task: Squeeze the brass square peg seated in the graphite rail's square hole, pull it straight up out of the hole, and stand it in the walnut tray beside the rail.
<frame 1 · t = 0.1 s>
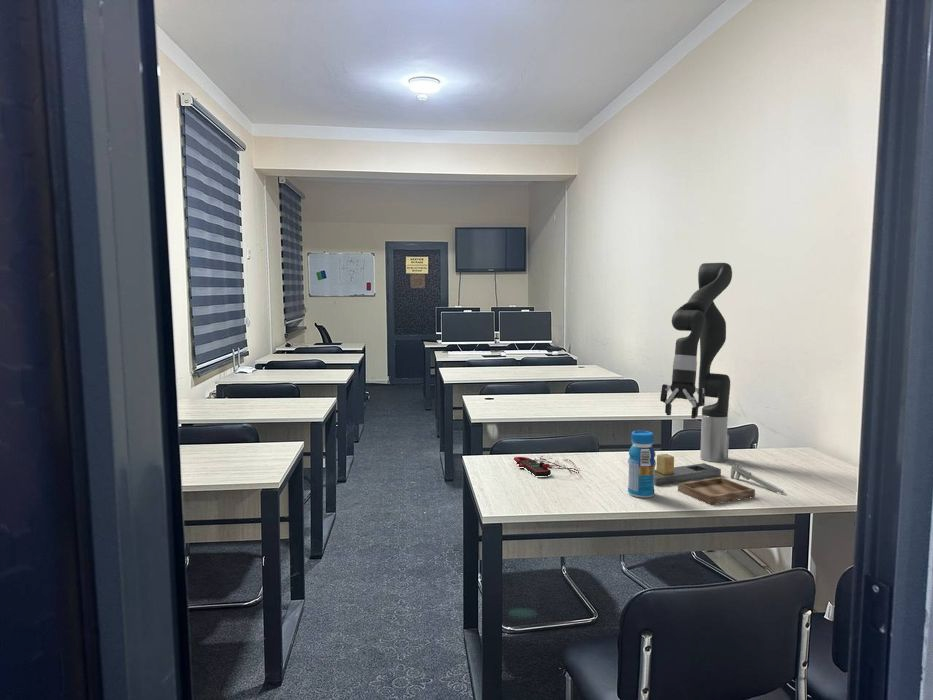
hand: (680, 416, 203), 22 cm above the table, tool pointing down, fingers open, 8 cm apart
peg: (664, 479, 206), resting in rail
digital clamp meter: (551, 470, 221), on the table
tray: (715, 494, 192), on the table
caliper: (757, 487, 200), on the table
beverage bottle: (640, 494, 192), on the table
rail: (680, 477, 209), on the table
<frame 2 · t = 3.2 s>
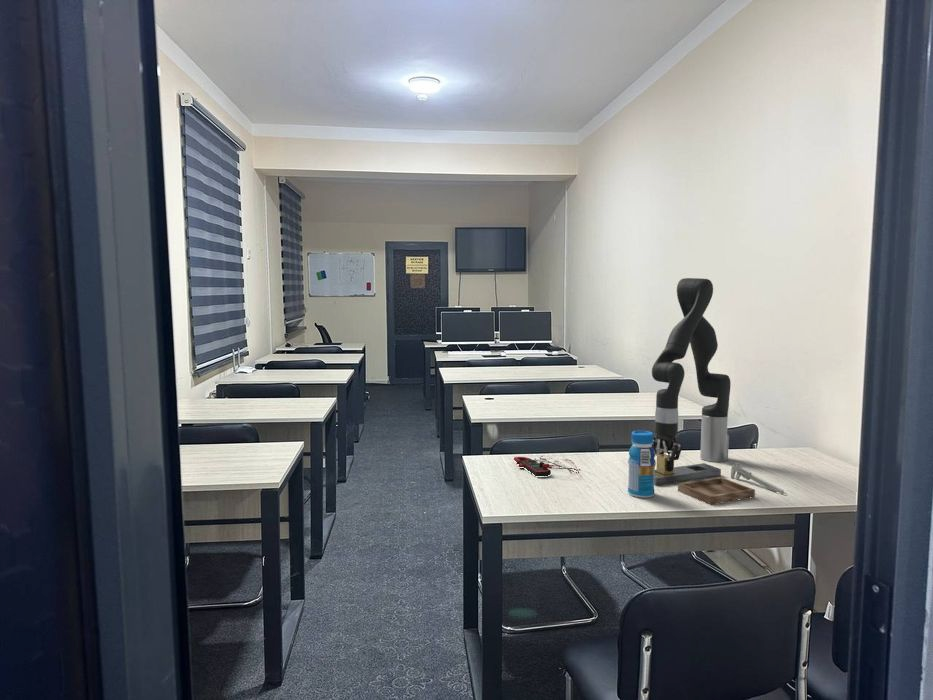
hand: (665, 469, 206), 4 cm above the table, tool pointing down, fingers closed on peg, 4 cm apart
peg: (664, 479, 206), resting in rail, touching gripper
everything else where it was.
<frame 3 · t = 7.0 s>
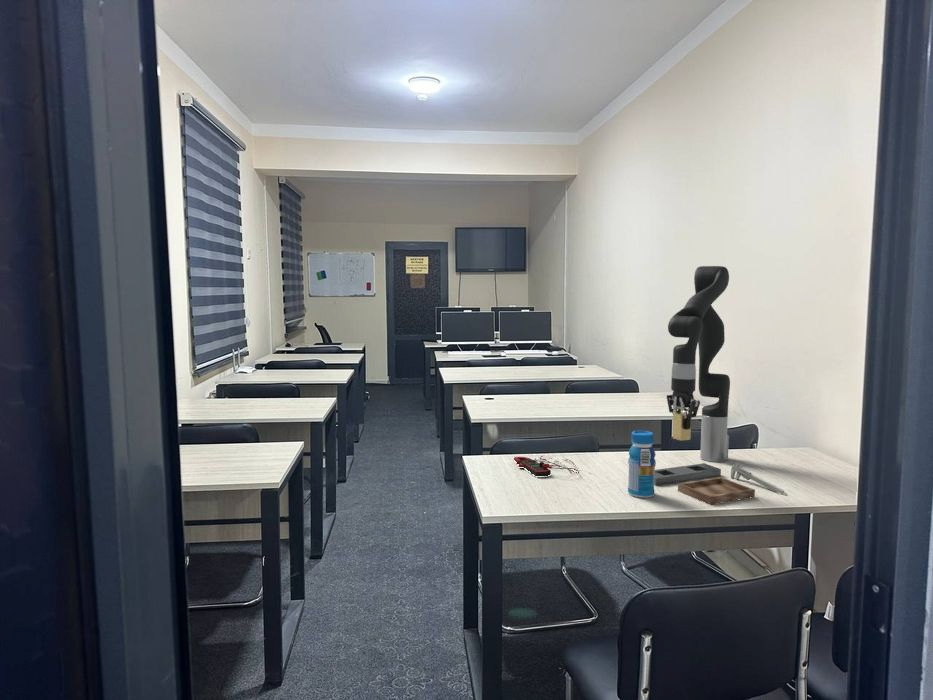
hand: (681, 427, 200), 19 cm above the table, tool pointing down, fingers closed on peg, 4 cm apart
peg: (681, 438, 200), point 16 cm above the table, touching gripper
everything else where it was.
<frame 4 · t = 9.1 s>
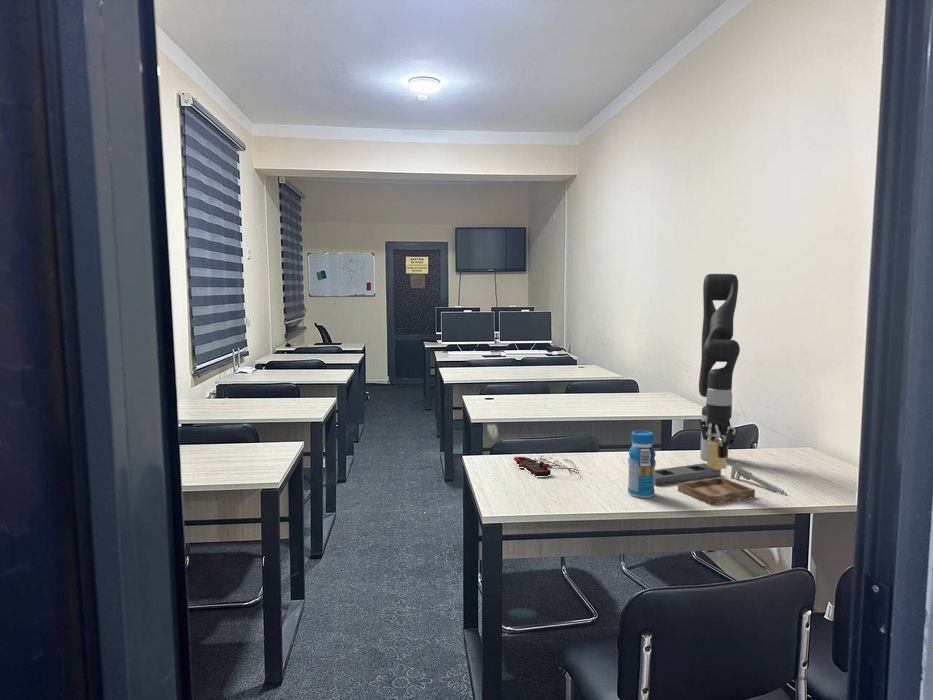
hand: (717, 455, 190), 13 cm above the table, tool pointing down, fingers closed on peg, 4 cm apart
peg: (716, 467, 191), point 9 cm above the table, touching gripper
everything else where it was.
when the fingers open (6 cm above the table, at t = 11.1 s): peg stays where it is, resting on tray.
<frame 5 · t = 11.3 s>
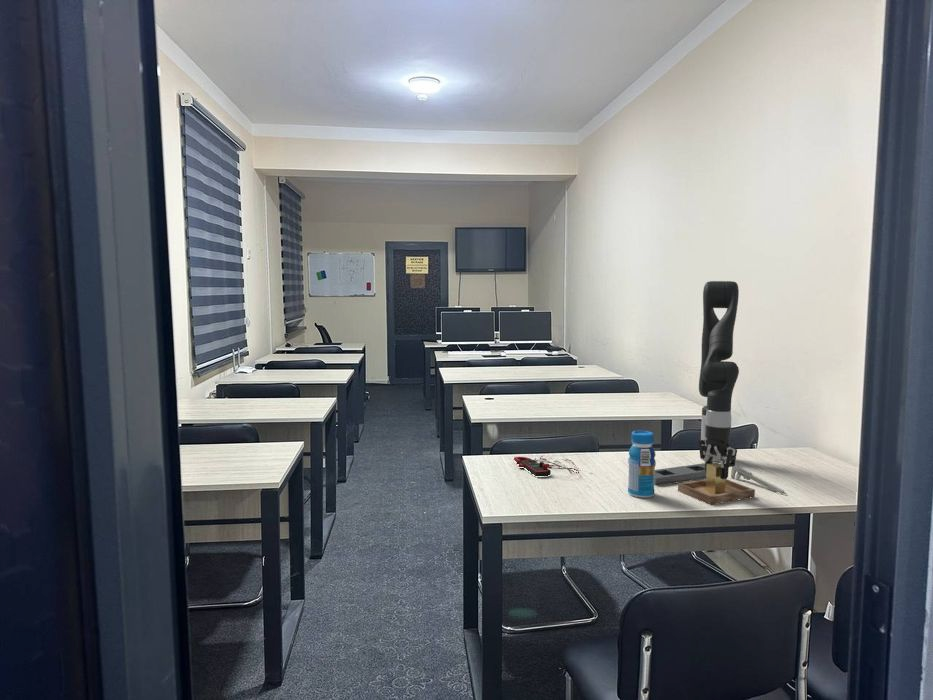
hand: (716, 475, 191), 6 cm above the table, tool pointing down, fingers open, 5 cm apart
peg: (715, 490, 192), point 1 cm above the table, touching tray
everything else where it was.
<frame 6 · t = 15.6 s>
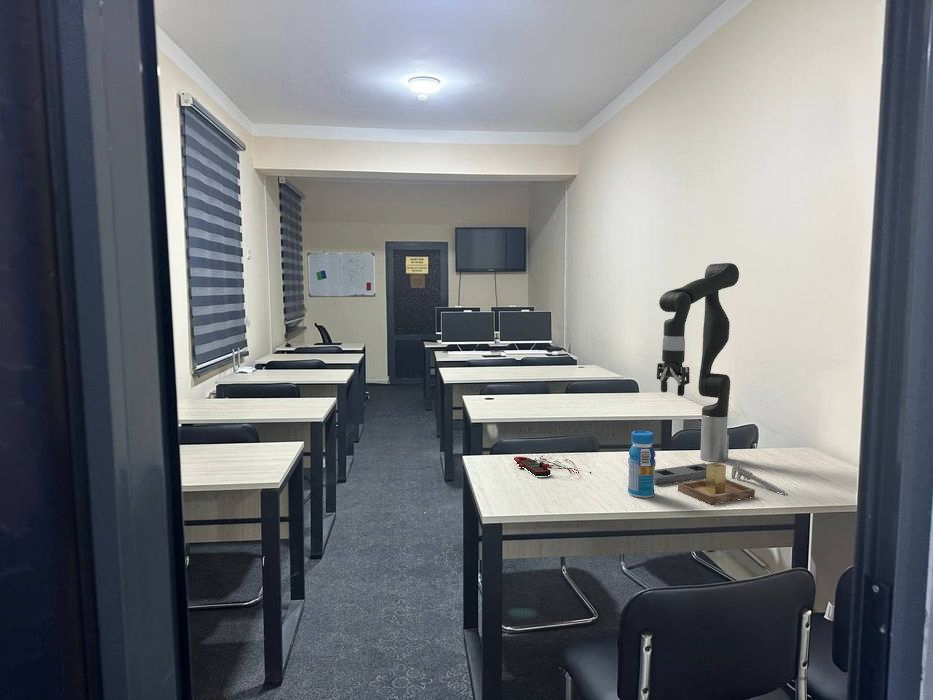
hand: (672, 393, 214), 28 cm above the table, tool pointing down, fingers open, 8 cm apart
nothing on the table moved.
at the end: peg inside the target area on the tray (0.2 cm from its centre), point 1.0 cm above the tray's base; peg tilted 0°; the gripper is holding nothing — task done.
